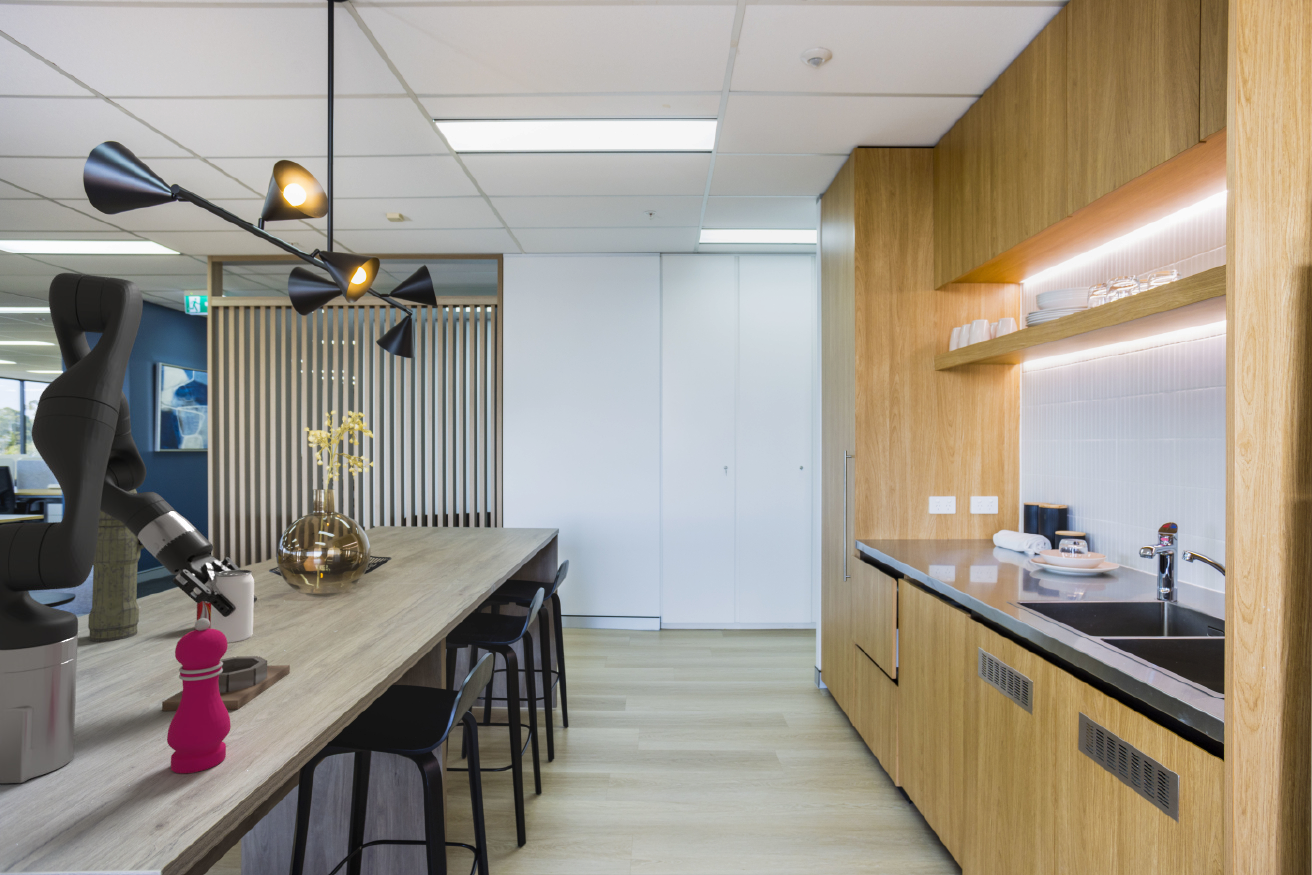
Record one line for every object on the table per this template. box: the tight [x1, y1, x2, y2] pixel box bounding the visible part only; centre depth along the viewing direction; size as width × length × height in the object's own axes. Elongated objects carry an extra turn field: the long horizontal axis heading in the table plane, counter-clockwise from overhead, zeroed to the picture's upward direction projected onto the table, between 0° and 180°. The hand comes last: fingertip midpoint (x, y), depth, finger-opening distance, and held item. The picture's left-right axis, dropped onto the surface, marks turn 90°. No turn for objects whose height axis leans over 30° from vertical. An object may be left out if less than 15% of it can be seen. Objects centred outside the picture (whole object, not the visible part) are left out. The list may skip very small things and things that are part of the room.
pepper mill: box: [166, 618, 232, 774], centre depth 90 cm, size 7×7×20 cm
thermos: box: [87, 488, 146, 642], centre depth 150 cm, size 9×12×35 cm
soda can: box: [196, 594, 211, 628], centre depth 158 cm, size 7×7×12 cm
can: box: [210, 569, 255, 645], centre depth 117 cm, size 6×6×12 cm
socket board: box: [161, 655, 291, 712], centre depth 117 cm, size 18×12×4 cm, turn 5°
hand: (242, 607), depth 117 cm, fingers closed on can, 6 cm apart
